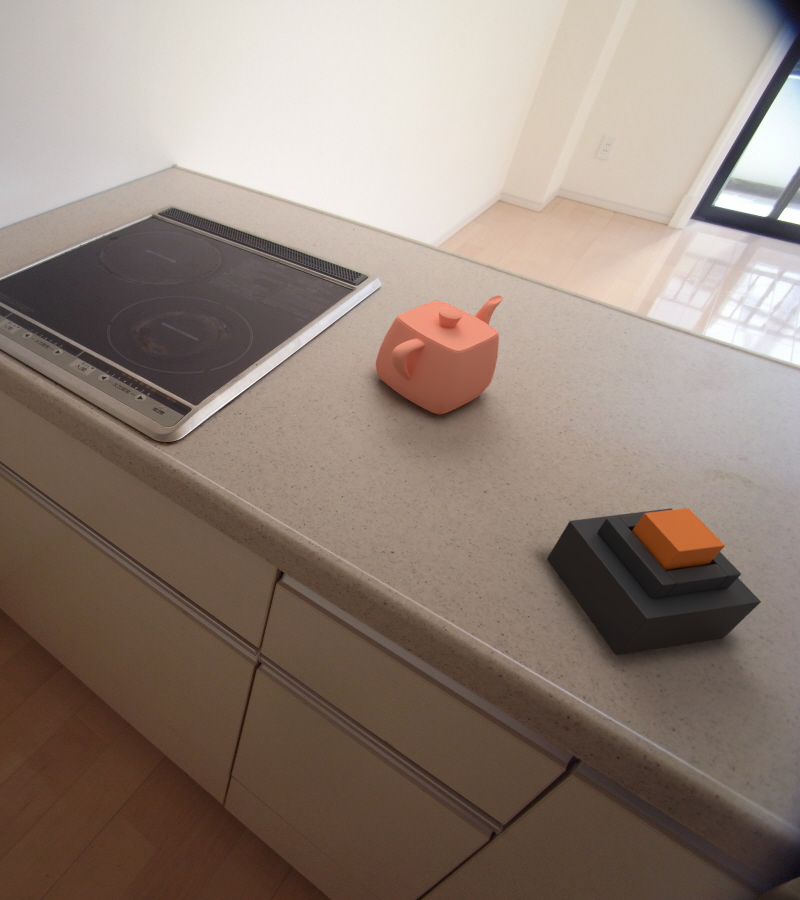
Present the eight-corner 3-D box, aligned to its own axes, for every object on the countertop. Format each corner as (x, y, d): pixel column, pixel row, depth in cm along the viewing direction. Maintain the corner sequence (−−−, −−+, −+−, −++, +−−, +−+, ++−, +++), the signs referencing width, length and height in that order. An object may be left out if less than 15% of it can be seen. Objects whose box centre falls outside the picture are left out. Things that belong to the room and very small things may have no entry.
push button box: (724, 638, 53) (776, 587, 49) (615, 655, 52) (659, 605, 47) (643, 545, 61) (682, 493, 56) (546, 558, 59) (578, 506, 55)
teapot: (346, 385, 79) (362, 309, 72) (442, 341, 87) (465, 269, 80) (418, 436, 72) (444, 358, 65) (516, 384, 80) (548, 309, 73)
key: (709, 564, 51) (726, 545, 49) (664, 570, 50) (679, 551, 49) (673, 526, 54) (688, 507, 52) (630, 532, 53) (644, 512, 52)
